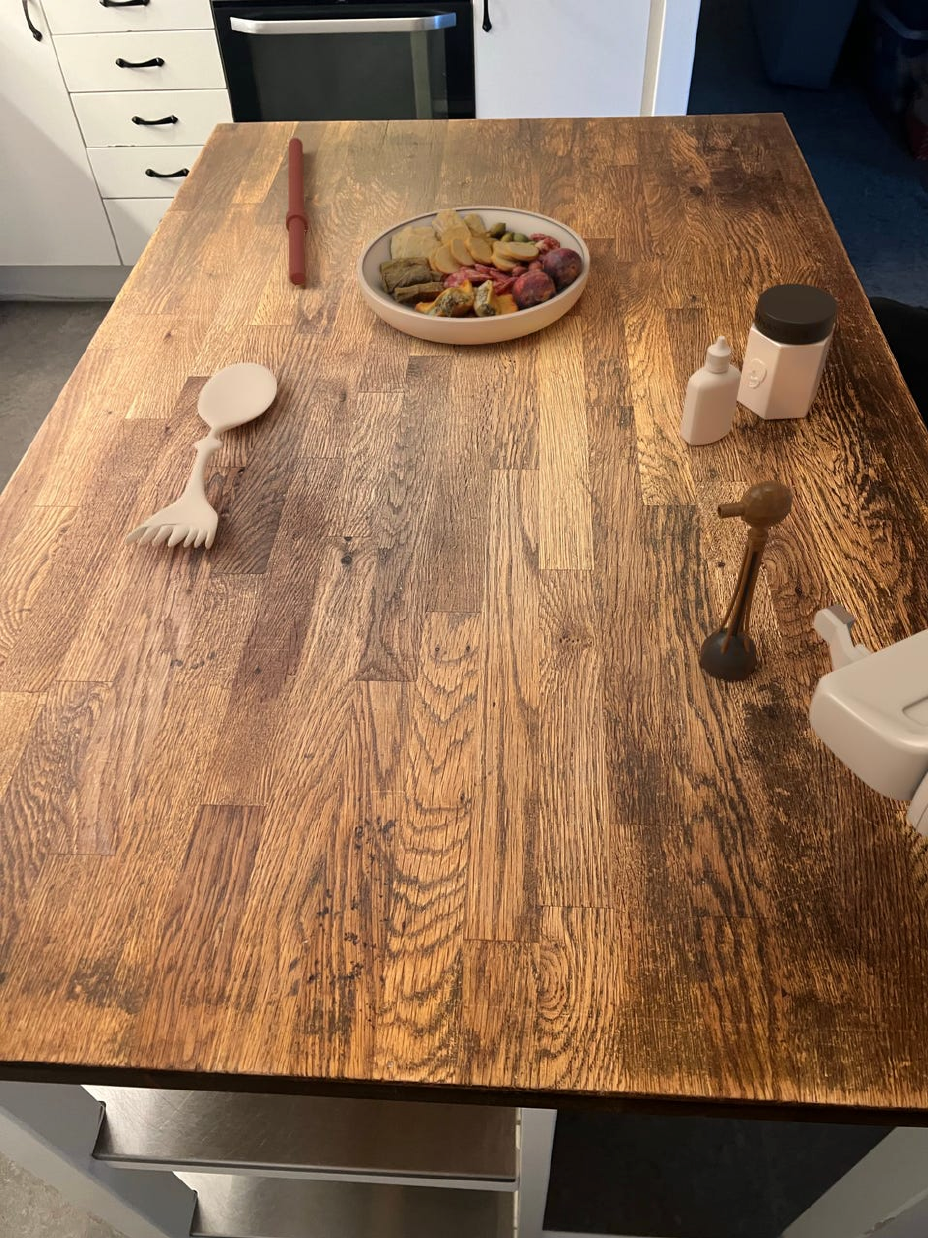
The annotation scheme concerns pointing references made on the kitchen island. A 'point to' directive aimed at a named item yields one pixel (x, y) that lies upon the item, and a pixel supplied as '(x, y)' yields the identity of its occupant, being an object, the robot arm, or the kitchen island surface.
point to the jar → (787, 350)
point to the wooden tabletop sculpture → (745, 581)
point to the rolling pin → (296, 214)
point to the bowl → (473, 274)
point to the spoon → (210, 453)
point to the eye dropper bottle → (711, 397)
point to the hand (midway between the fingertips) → (883, 588)
